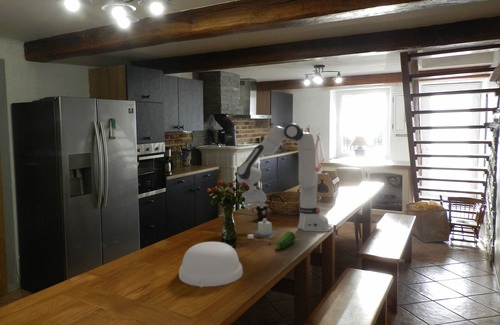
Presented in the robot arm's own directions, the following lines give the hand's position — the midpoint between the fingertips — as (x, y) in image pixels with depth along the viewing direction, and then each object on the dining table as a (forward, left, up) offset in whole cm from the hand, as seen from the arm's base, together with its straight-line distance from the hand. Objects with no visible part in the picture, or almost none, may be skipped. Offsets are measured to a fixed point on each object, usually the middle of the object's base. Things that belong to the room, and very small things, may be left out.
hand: (255, 208), depth 258 cm
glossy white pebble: (-4, +19, -15) cm, 25 cm away
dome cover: (-8, +78, -15) cm, 80 cm away
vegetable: (-28, +27, -15) cm, 42 cm away
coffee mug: (+9, -32, -15) cm, 36 cm away
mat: (-9, +7, -15) cm, 19 cm away
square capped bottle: (-9, +7, -14) cm, 18 cm away
